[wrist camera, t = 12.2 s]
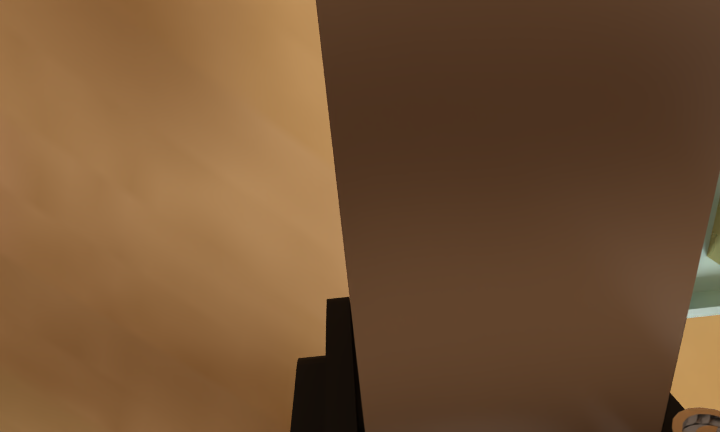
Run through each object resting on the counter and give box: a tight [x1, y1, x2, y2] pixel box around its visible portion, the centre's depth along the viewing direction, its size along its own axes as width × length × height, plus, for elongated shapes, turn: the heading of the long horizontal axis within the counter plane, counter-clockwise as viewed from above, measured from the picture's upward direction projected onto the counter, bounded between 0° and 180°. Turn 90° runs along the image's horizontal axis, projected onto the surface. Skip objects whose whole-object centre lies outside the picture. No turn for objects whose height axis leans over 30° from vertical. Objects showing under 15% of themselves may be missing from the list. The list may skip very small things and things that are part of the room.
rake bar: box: [316, 0, 720, 432], centre depth 10 cm, size 22×4×6 cm, turn 5°
